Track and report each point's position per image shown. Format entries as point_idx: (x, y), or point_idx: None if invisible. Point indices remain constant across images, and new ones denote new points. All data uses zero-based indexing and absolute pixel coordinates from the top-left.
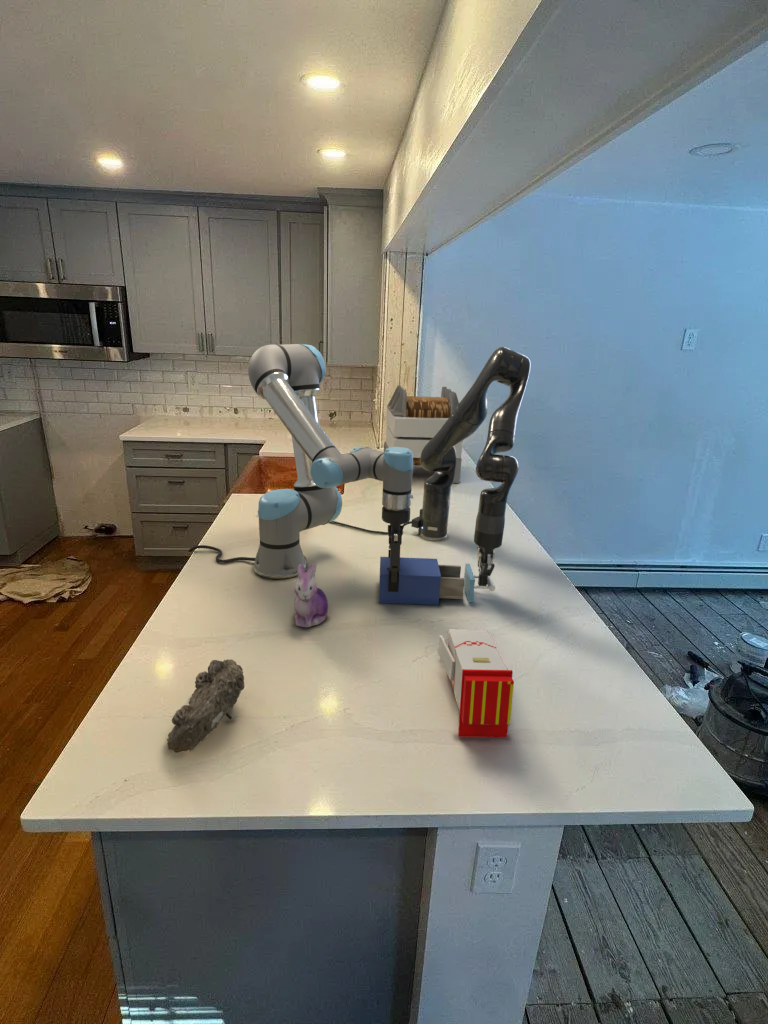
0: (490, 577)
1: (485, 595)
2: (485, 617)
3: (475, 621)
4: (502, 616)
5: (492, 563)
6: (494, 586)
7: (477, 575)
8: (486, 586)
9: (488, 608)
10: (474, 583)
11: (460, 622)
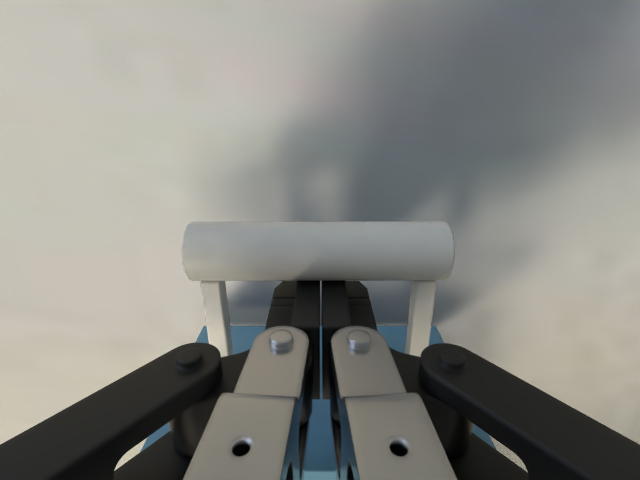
0: (260, 246)
1: (296, 217)
2: (577, 261)
3: (608, 319)
4: (585, 153)
5: (452, 471)
6: (447, 236)
7: (209, 337)
8: (423, 298)
9: (471, 226)
10: (490, 438)
11: (600, 385)
